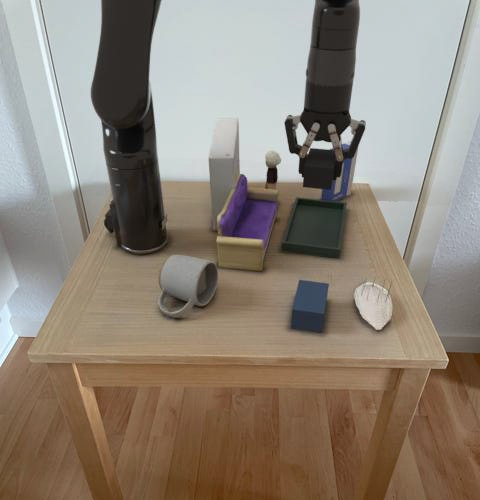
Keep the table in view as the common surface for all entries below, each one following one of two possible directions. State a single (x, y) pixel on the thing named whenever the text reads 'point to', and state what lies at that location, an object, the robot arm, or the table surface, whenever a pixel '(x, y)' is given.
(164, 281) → the ceramic mug
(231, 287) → the table surface
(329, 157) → the charcoal pad
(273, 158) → the grandmother figurine
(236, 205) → the toy sofa
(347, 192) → the blue and white box
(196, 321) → the table surface
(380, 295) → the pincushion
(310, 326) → the dark blue block
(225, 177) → the skincare box
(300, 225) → the pad frame
